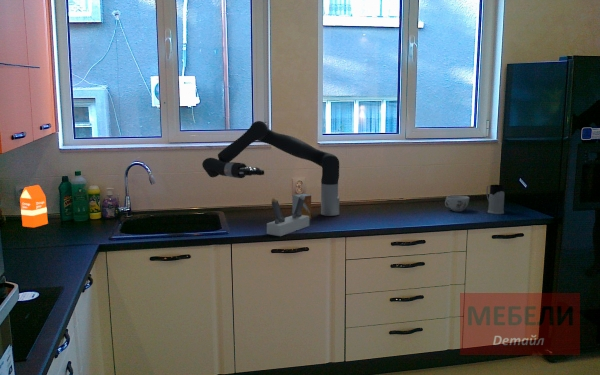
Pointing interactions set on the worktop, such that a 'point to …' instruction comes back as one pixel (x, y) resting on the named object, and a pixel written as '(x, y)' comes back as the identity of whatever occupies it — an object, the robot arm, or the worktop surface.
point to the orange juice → (33, 207)
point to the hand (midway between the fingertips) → (262, 172)
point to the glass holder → (496, 199)
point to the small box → (306, 205)
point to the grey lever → (299, 205)
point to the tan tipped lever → (277, 209)
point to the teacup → (457, 202)
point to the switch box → (287, 225)
